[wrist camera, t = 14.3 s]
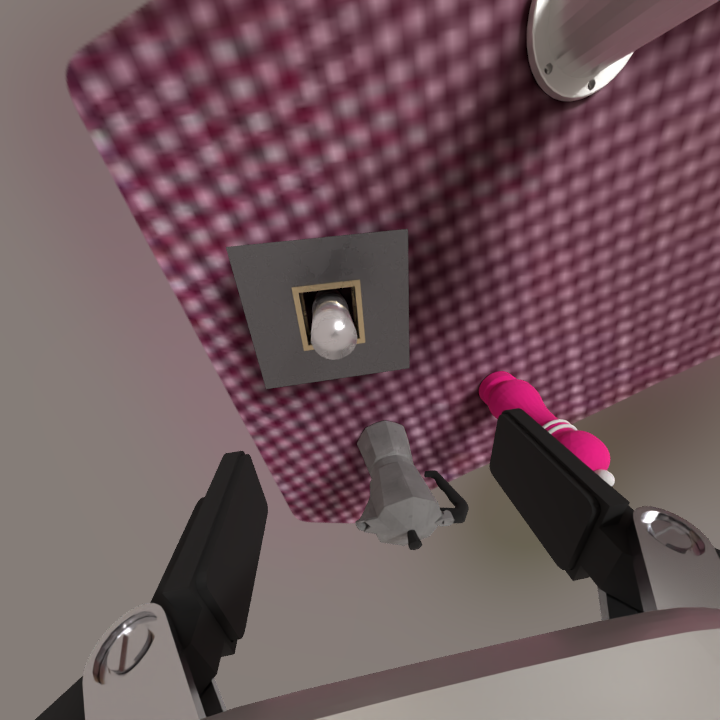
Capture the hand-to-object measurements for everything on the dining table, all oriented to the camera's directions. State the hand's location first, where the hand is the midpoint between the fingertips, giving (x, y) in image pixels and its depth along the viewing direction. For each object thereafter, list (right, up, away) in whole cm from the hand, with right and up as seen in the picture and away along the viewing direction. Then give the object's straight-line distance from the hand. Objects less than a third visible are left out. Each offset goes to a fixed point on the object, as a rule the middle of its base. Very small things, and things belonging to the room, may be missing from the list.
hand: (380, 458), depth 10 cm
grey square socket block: (-5, +11, +25) cm, 28 cm away
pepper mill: (+22, -1, +36) cm, 42 cm away
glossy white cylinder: (-5, +11, +25) cm, 28 cm away
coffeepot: (+4, -11, +37) cm, 39 cm away
